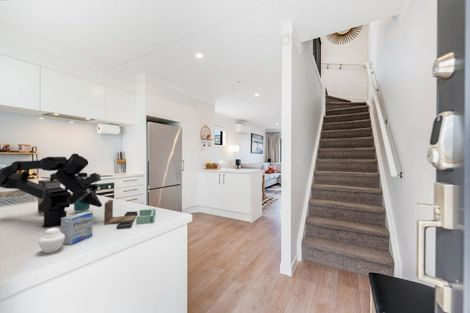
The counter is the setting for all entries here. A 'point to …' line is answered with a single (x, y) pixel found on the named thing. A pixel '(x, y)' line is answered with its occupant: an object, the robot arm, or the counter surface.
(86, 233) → the medicine box
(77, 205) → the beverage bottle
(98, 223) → the counter surface
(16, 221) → the counter surface
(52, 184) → the coffee box
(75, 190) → the robot arm
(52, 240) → the white lidded jar
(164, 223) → the counter surface
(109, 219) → the bookend
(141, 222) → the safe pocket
